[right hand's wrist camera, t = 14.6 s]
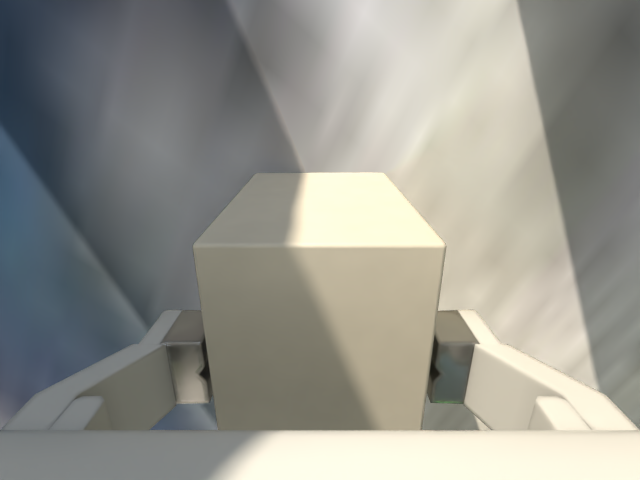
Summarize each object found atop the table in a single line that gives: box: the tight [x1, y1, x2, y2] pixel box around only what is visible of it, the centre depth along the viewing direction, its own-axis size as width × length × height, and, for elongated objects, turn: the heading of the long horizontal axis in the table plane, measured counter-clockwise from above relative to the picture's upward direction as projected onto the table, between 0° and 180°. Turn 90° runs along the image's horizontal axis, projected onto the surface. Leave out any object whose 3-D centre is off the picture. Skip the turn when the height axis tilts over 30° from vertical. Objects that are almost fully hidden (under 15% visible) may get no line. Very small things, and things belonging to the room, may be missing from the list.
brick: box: [193, 173, 446, 430], centre depth 12 cm, size 5×7×7 cm
